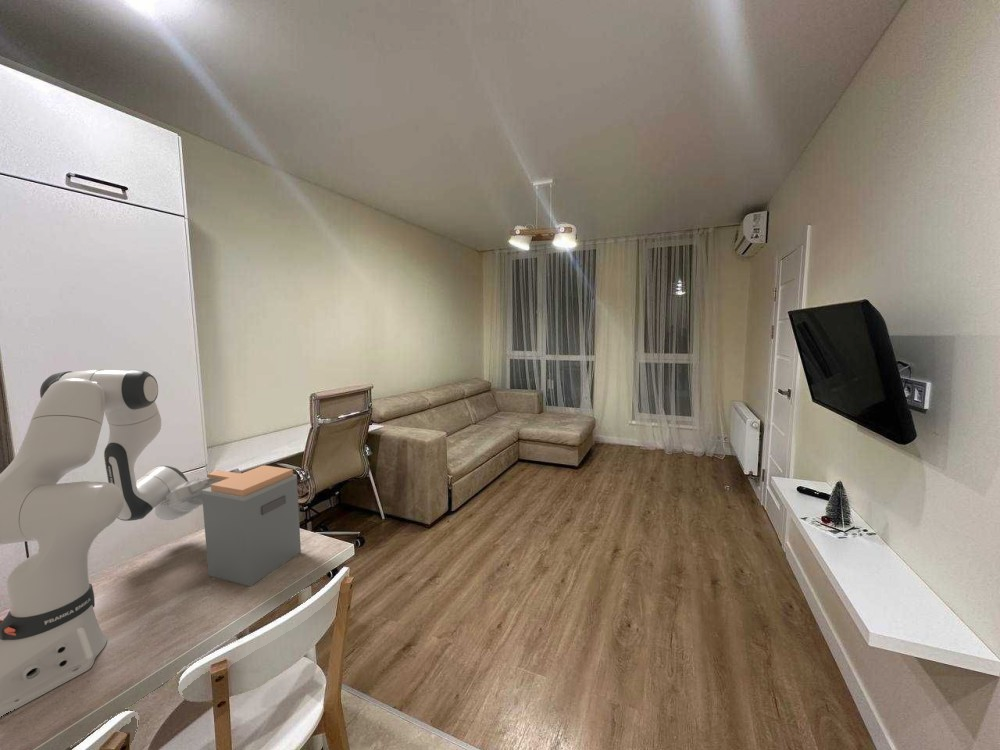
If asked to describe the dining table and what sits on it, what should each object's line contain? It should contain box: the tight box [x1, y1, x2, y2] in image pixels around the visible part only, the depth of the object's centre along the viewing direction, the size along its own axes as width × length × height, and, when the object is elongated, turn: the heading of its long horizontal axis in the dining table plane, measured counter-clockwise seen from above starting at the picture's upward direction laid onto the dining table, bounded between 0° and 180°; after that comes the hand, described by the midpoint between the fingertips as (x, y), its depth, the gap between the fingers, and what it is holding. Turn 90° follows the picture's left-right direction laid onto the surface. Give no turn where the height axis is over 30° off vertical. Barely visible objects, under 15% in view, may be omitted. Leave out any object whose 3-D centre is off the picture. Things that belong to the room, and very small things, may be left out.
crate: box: [202, 473, 302, 587], centre depth 117 cm, size 18×16×26 cm
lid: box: [206, 464, 294, 496], centre depth 117 cm, size 17×23×2 cm
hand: (221, 476), depth 120 cm, fingers open, 8 cm apart
